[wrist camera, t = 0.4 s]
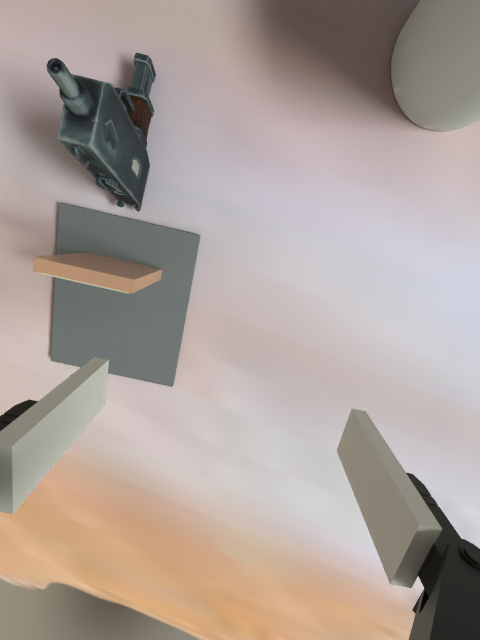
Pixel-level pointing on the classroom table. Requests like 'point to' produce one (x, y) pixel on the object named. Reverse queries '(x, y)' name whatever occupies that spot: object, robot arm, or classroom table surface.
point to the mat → (123, 297)
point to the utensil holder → (439, 64)
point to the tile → (98, 271)
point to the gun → (108, 127)
